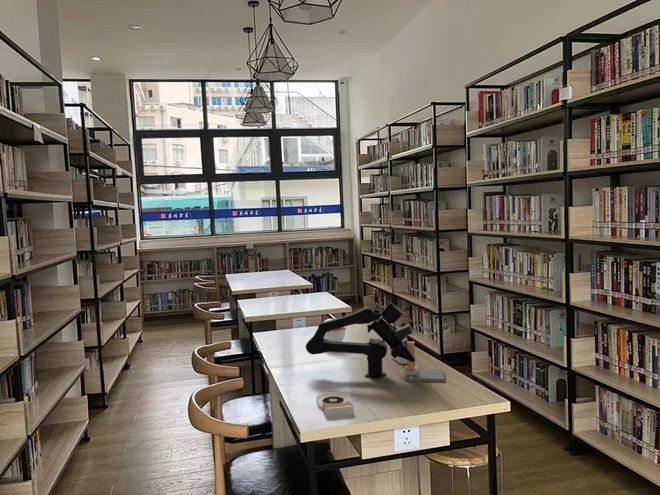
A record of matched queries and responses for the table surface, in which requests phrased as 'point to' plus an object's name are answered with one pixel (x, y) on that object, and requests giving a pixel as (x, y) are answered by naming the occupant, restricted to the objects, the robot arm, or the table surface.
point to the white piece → (335, 334)
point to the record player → (335, 404)
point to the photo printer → (399, 359)
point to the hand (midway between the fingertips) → (414, 359)
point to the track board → (427, 375)
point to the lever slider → (411, 367)
